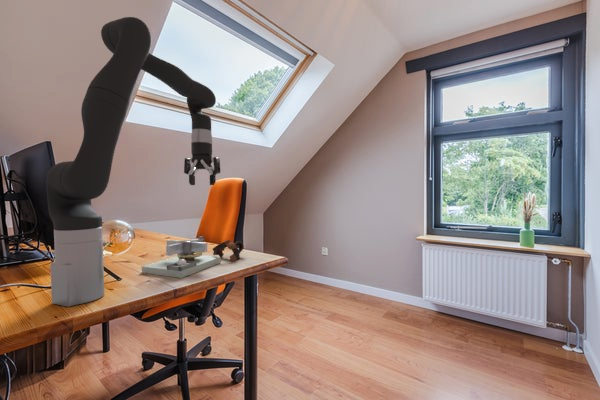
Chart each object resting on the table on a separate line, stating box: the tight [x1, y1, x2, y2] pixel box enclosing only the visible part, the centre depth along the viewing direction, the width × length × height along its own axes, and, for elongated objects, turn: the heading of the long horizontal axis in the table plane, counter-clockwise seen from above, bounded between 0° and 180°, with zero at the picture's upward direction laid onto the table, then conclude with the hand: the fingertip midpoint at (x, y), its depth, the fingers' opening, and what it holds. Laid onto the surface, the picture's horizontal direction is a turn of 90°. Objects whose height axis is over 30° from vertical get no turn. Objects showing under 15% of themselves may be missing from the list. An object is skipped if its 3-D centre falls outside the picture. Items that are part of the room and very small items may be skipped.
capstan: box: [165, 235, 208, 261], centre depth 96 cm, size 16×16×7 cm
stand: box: [141, 254, 221, 279], centre depth 96 cm, size 19×16×3 cm
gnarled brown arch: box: [212, 239, 244, 263], centre depth 109 cm, size 12×10×8 cm
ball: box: [177, 259, 186, 266], centre depth 89 cm, size 3×3×3 cm
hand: (202, 185), depth 109 cm, fingers open, 8 cm apart
